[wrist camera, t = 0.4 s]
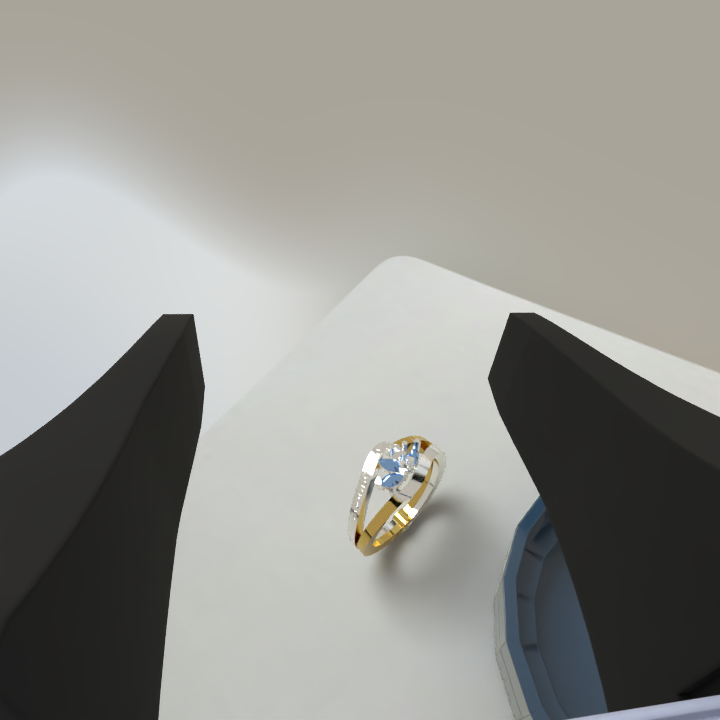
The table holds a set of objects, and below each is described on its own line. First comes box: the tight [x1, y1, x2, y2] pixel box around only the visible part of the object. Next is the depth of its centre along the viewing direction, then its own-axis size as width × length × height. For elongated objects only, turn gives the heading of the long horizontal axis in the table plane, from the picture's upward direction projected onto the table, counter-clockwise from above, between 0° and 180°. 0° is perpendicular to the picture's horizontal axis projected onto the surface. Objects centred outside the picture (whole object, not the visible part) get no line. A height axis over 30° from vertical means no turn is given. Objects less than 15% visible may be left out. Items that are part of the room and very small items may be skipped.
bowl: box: [494, 496, 608, 720], centre depth 21 cm, size 16×16×5 cm
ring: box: [348, 436, 447, 556], centre depth 26 cm, size 7×3×8 cm, turn 132°
